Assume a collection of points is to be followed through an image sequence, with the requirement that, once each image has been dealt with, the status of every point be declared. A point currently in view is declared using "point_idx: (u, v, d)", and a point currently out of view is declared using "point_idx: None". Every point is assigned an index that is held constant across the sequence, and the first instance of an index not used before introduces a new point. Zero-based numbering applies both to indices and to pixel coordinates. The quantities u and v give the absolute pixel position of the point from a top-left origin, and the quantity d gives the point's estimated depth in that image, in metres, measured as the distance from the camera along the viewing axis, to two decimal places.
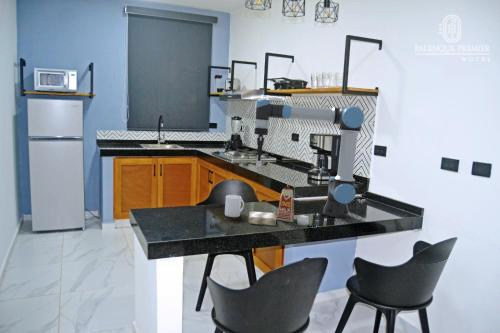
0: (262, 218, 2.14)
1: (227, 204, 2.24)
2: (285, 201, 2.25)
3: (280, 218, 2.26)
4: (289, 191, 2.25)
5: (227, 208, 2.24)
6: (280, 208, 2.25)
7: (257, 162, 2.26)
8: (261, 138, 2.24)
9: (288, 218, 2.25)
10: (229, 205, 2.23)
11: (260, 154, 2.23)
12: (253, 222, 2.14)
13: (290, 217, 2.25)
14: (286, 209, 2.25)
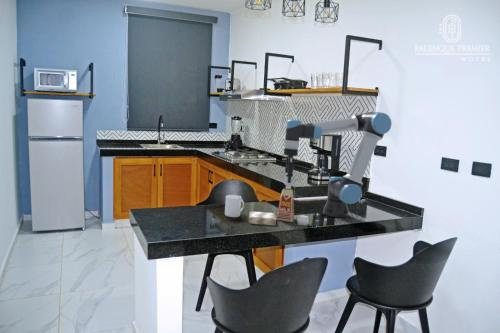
0: (262, 218, 2.14)
1: (227, 204, 2.24)
2: (285, 201, 2.25)
3: (280, 218, 2.26)
4: (289, 191, 2.25)
5: (227, 208, 2.24)
6: (280, 208, 2.25)
7: (287, 184, 2.20)
8: (291, 159, 2.19)
9: (288, 218, 2.25)
10: (229, 205, 2.23)
11: (290, 176, 2.18)
12: (253, 222, 2.14)
13: (290, 217, 2.25)
14: (286, 209, 2.25)
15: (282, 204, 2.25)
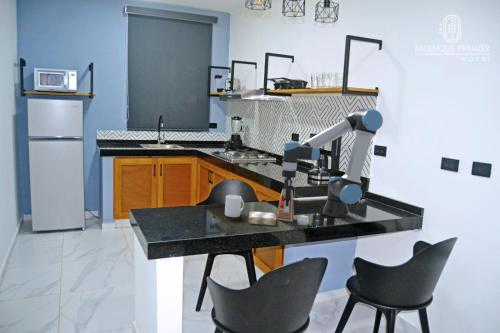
0: (262, 218, 2.14)
1: (227, 204, 2.24)
2: (284, 201, 2.25)
3: (280, 218, 2.26)
4: None
5: (227, 208, 2.24)
6: (280, 208, 2.26)
7: (285, 207, 2.24)
8: (289, 183, 2.21)
9: (288, 218, 2.25)
10: (229, 205, 2.23)
11: (288, 200, 2.21)
12: (253, 222, 2.14)
13: (290, 217, 2.25)
14: None
15: (282, 204, 2.25)
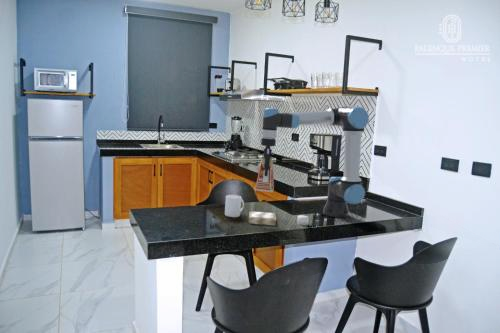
0: (262, 218, 2.14)
1: (227, 204, 2.24)
2: (263, 171, 2.14)
3: (259, 189, 2.15)
4: None
5: (227, 208, 2.24)
6: (259, 178, 2.15)
7: (264, 177, 2.13)
8: (268, 151, 2.10)
9: (267, 188, 2.14)
10: (229, 205, 2.23)
11: (267, 169, 2.11)
12: (253, 222, 2.14)
13: (269, 187, 2.14)
14: None
15: (261, 174, 2.15)
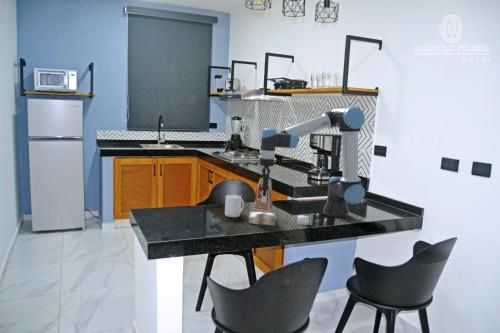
0: (262, 218, 2.14)
1: (227, 204, 2.24)
2: None
3: (257, 208, 2.17)
4: None
5: (227, 208, 2.24)
6: (257, 198, 2.16)
7: (262, 197, 2.14)
8: (267, 172, 2.11)
9: (266, 208, 2.16)
10: (229, 205, 2.23)
11: (265, 189, 2.12)
12: (253, 222, 2.14)
13: (267, 207, 2.15)
14: None
15: (259, 194, 2.16)
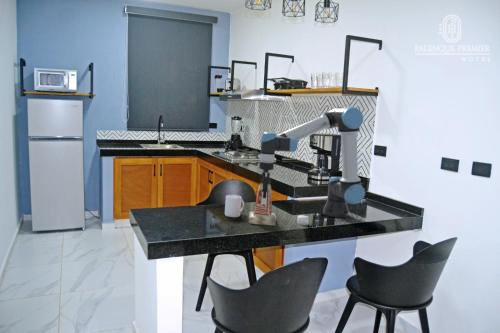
0: (262, 218, 2.14)
1: (227, 204, 2.24)
2: None
3: (257, 214, 2.17)
4: None
5: (227, 208, 2.24)
6: (257, 203, 2.17)
7: (262, 199, 2.12)
8: (267, 174, 2.11)
9: (265, 214, 2.16)
10: (229, 205, 2.23)
11: (265, 191, 2.10)
12: (253, 222, 2.14)
13: (267, 213, 2.16)
14: (263, 204, 2.16)
15: (259, 199, 2.16)
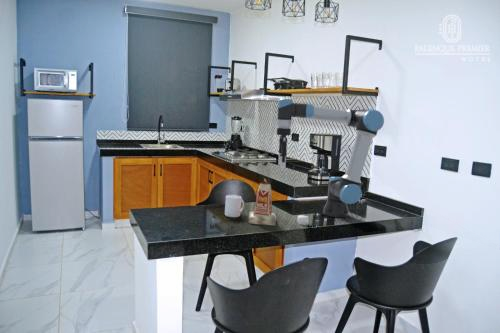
0: (262, 218, 2.14)
1: (227, 204, 2.24)
2: (262, 196, 2.16)
3: (257, 214, 2.17)
4: (266, 186, 2.16)
5: (227, 208, 2.24)
6: (257, 203, 2.17)
7: (281, 164, 2.18)
8: (285, 139, 2.17)
9: (265, 214, 2.16)
10: (229, 205, 2.23)
11: (284, 155, 2.16)
12: (253, 222, 2.14)
13: (267, 213, 2.16)
14: (263, 204, 2.16)
15: (259, 199, 2.16)
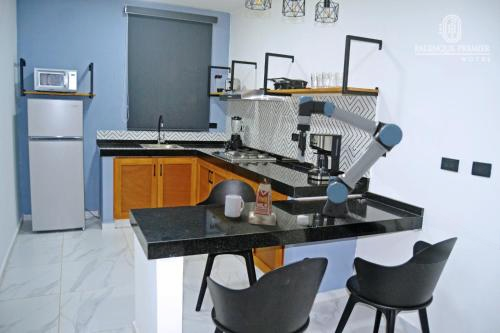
0: (262, 218, 2.14)
1: (227, 204, 2.24)
2: (262, 196, 2.16)
3: (257, 214, 2.17)
4: (266, 186, 2.16)
5: (227, 208, 2.24)
6: (257, 203, 2.17)
7: (300, 158, 2.30)
8: (305, 134, 2.29)
9: (265, 214, 2.16)
10: (229, 205, 2.23)
11: (304, 150, 2.28)
12: (253, 222, 2.14)
13: (267, 213, 2.16)
14: (263, 204, 2.16)
15: (259, 199, 2.16)
